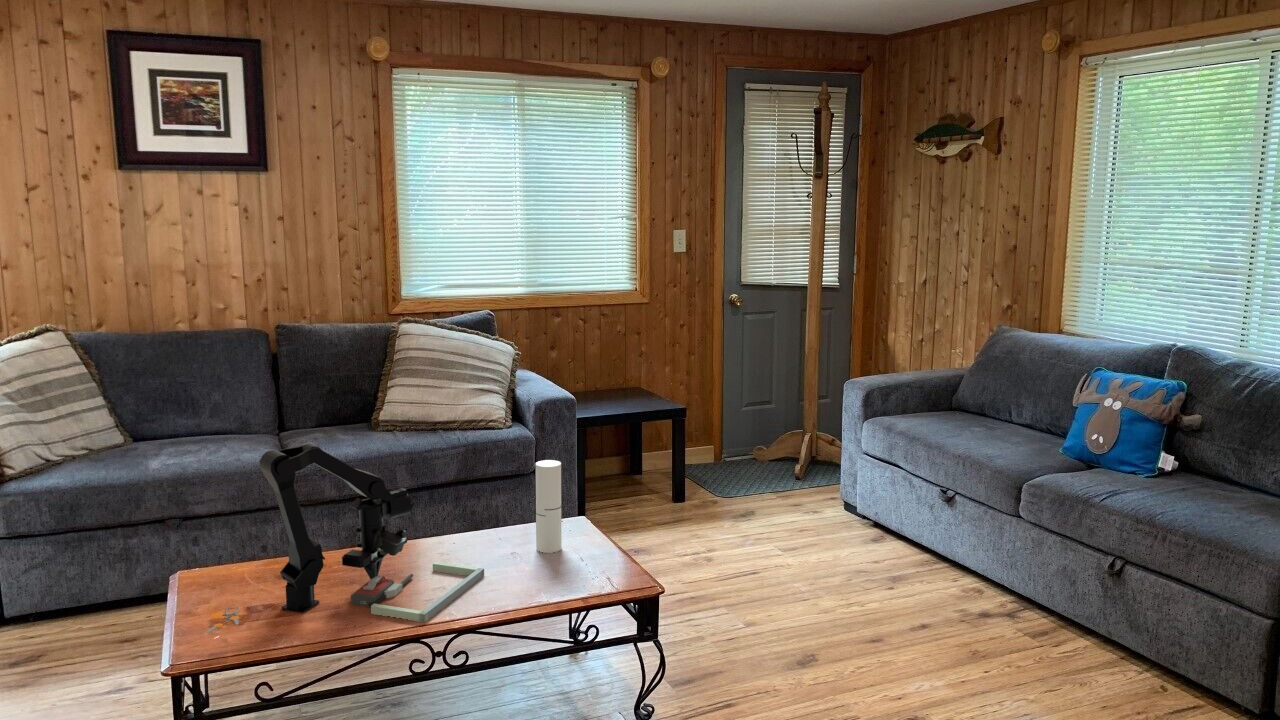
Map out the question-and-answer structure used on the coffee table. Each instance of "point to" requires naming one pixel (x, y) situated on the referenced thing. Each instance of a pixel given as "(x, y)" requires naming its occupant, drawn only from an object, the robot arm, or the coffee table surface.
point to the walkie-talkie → (377, 591)
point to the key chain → (231, 616)
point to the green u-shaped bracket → (430, 611)
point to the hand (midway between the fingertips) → (374, 580)
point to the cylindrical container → (548, 506)
